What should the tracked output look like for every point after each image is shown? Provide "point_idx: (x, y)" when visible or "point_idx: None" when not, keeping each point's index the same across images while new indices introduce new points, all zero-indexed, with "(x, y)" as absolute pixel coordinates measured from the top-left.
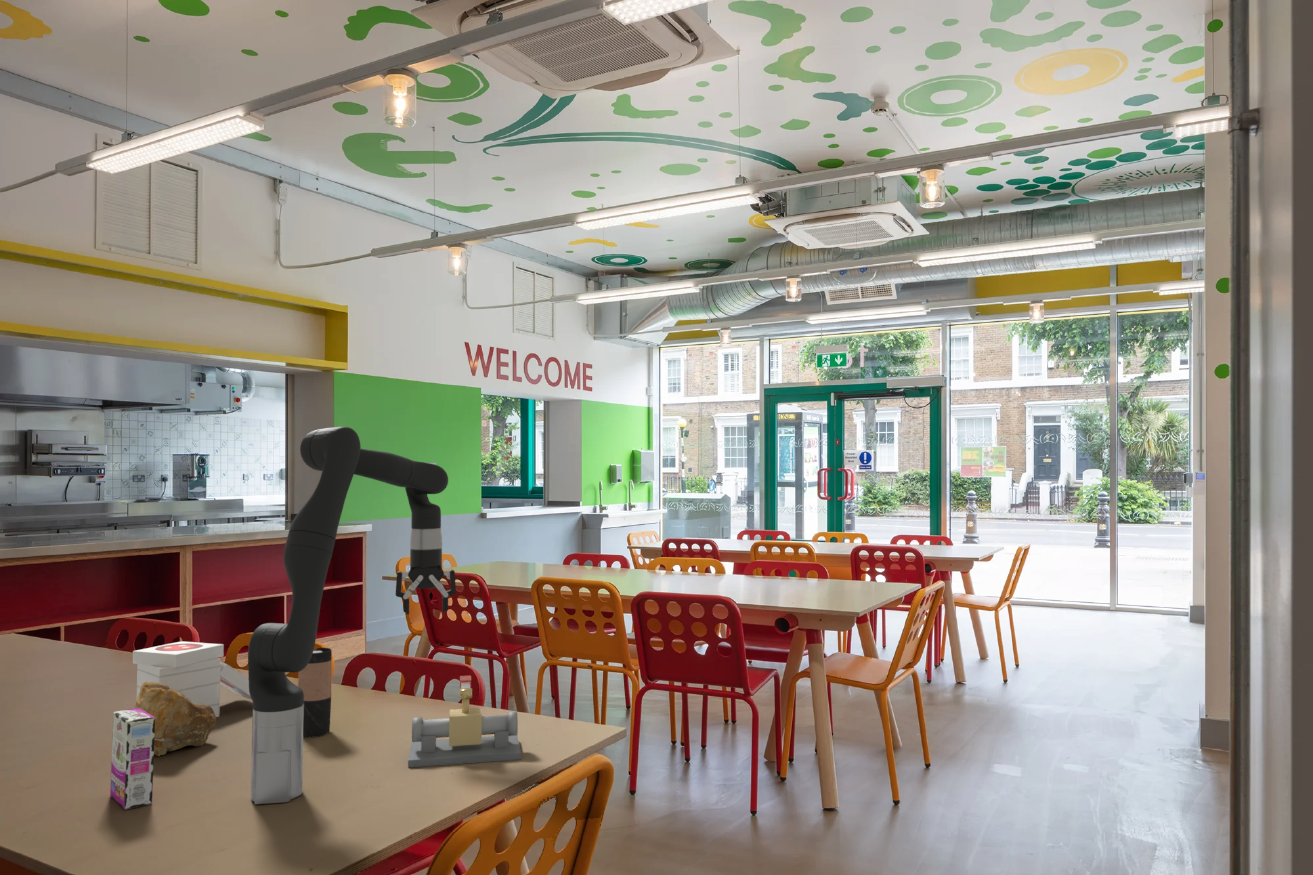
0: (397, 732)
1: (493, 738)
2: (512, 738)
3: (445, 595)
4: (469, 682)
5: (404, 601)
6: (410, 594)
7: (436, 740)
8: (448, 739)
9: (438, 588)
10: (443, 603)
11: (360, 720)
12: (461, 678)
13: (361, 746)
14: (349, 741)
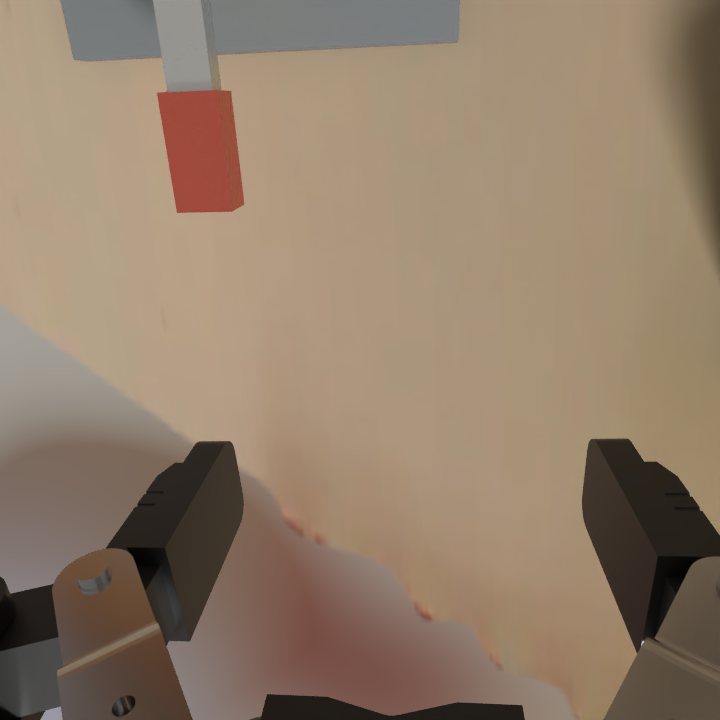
0: (509, 266)
1: (152, 21)
2: (81, 5)
3: (102, 566)
4: (167, 75)
5: (714, 551)
6: (668, 615)
7: (364, 35)
8: (319, 41)
9: (147, 655)
10: (180, 498)
11: (627, 433)
12: (216, 148)
13: (641, 108)
14: (680, 186)
